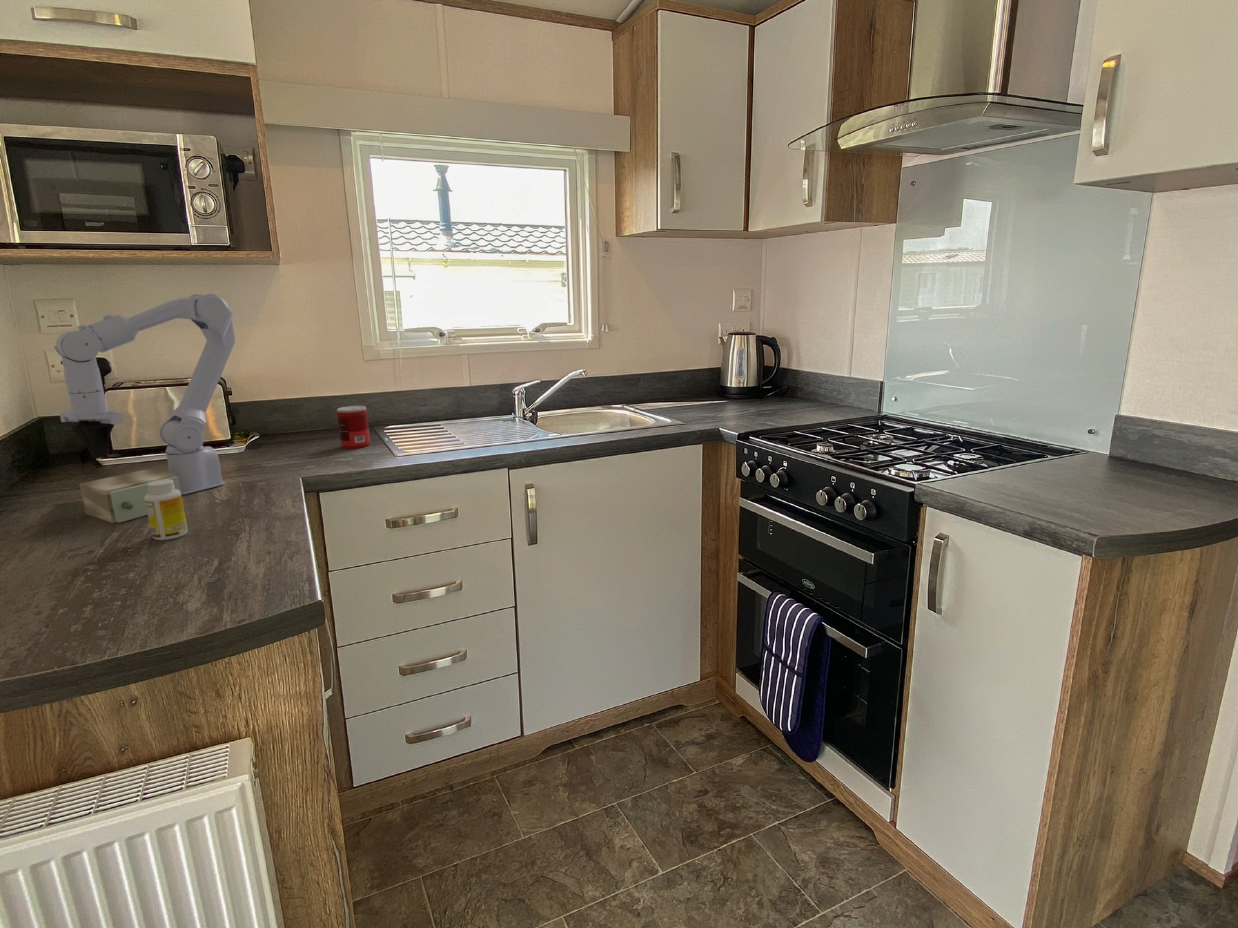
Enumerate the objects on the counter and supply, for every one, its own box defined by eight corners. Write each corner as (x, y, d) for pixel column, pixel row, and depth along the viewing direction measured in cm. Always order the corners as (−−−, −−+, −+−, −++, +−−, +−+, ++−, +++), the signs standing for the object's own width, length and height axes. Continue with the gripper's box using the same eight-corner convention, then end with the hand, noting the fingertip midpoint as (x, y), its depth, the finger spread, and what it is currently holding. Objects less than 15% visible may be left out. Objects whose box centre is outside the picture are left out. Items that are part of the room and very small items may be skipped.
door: (180, 503, 143) (175, 476, 141) (187, 505, 142) (181, 477, 140) (116, 521, 132) (109, 492, 131) (122, 523, 131) (116, 493, 130)
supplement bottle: (194, 530, 127) (184, 477, 125) (178, 540, 122) (168, 485, 120) (162, 531, 127) (152, 478, 124) (145, 542, 122) (134, 487, 119)
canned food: (375, 442, 199) (370, 405, 196) (362, 449, 191) (357, 410, 188) (349, 442, 199) (345, 405, 197) (336, 449, 192) (331, 410, 189)
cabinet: (155, 497, 149) (149, 468, 147) (182, 504, 143) (176, 474, 142) (85, 514, 138) (79, 483, 137) (112, 522, 133) (105, 490, 131)
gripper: (38, 393, 136) (53, 459, 139) (93, 395, 132) (107, 463, 136) (74, 388, 143) (88, 452, 146) (127, 390, 139) (140, 455, 142)
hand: (99, 457), depth 141 cm, fingers closed
